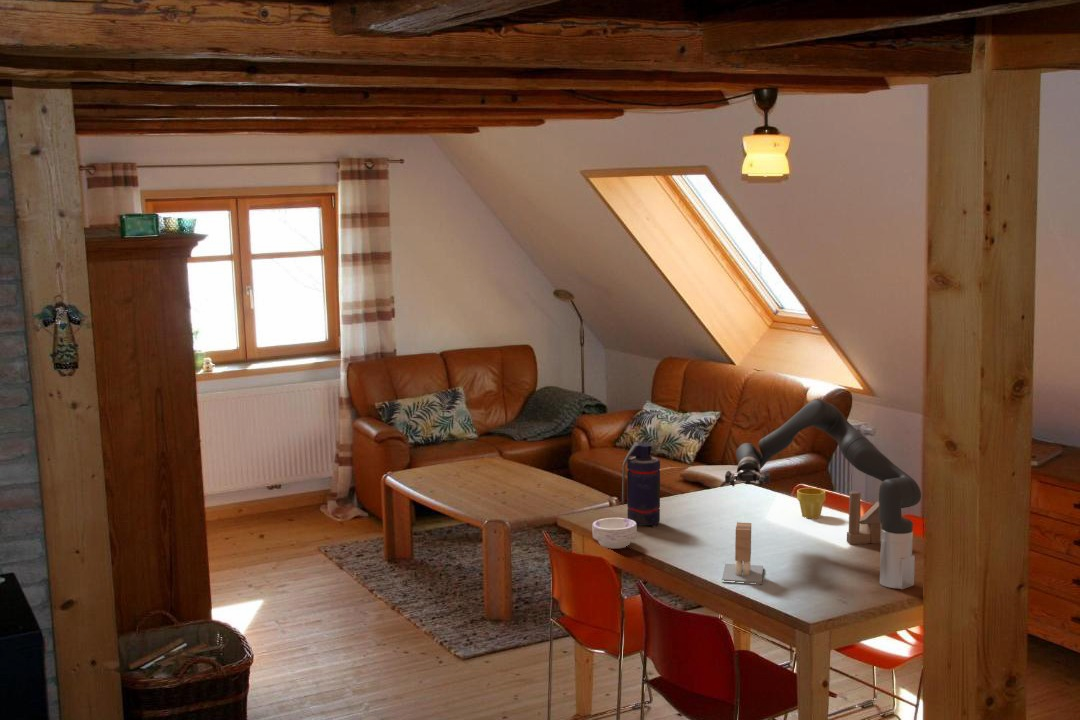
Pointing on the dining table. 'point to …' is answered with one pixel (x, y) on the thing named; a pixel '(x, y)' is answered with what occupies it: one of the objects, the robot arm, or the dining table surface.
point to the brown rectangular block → (743, 542)
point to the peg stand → (743, 572)
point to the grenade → (642, 485)
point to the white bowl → (614, 532)
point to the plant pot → (811, 501)
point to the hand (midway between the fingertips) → (746, 483)
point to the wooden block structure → (863, 522)
